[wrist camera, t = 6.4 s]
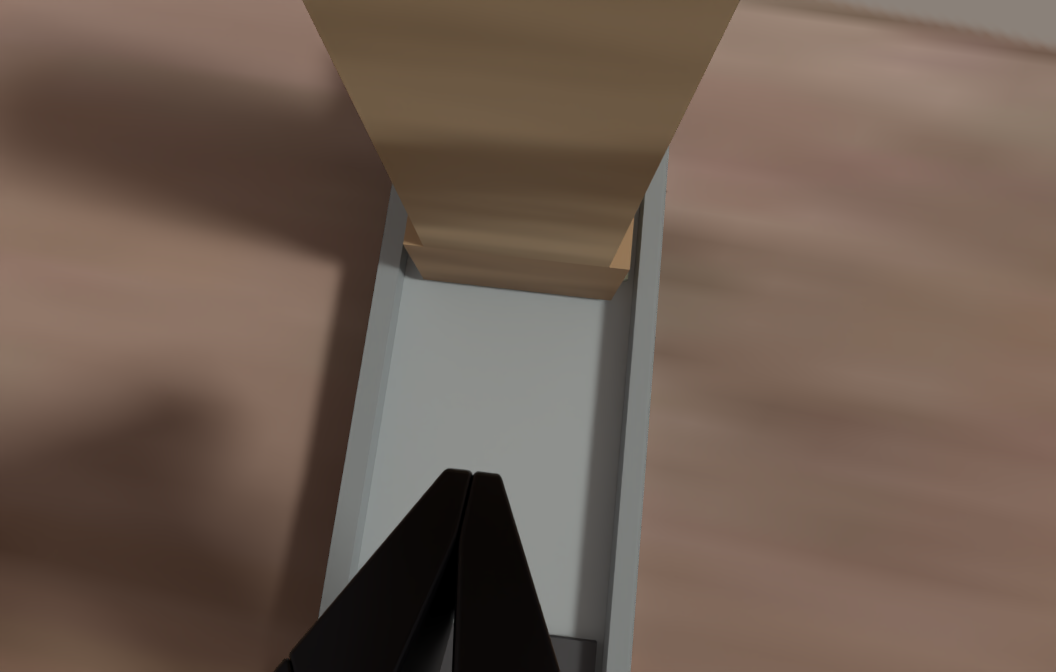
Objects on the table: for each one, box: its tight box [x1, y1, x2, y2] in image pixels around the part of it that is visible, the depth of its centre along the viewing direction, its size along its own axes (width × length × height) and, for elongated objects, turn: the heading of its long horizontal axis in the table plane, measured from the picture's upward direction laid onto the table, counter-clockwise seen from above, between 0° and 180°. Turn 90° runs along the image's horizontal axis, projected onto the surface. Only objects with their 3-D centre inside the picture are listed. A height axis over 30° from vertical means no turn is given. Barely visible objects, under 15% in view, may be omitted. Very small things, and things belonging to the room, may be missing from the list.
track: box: [318, 146, 669, 672], centre depth 16 cm, size 22×8×1 cm, turn 173°
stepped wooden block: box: [303, 0, 740, 301], centre depth 11 cm, size 7×6×14 cm
